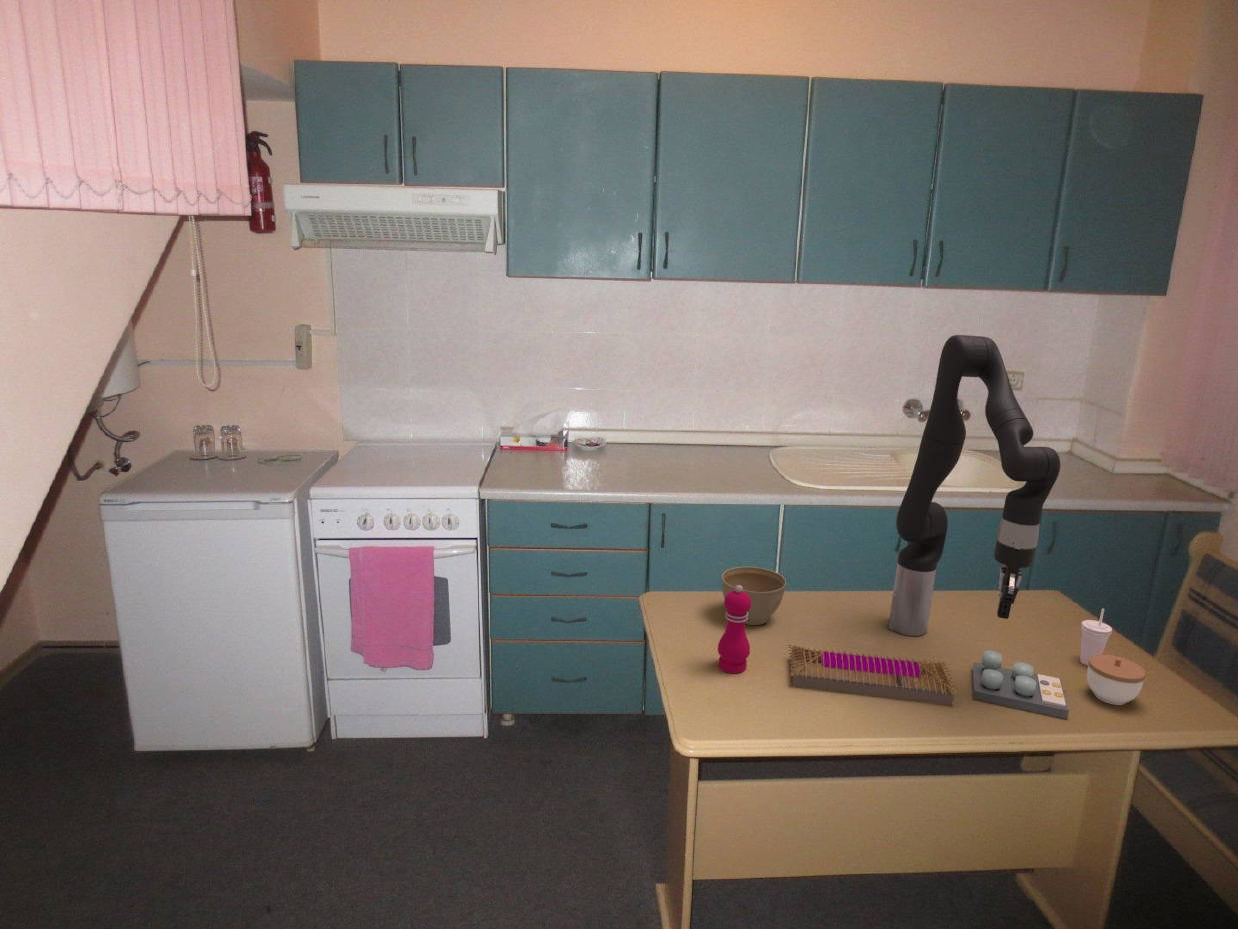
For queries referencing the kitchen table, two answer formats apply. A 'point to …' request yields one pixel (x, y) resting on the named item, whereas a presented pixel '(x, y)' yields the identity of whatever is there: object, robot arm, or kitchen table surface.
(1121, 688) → the lidded jar
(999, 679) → the button near left
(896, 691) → the rafter model
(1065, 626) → the kitchen table surface
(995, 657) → the button far left
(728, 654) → the pepper mill
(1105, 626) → the smoothie
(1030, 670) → the button far right
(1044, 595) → the kitchen table surface
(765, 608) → the planter bowl
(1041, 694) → the button board
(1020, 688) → the button near right
